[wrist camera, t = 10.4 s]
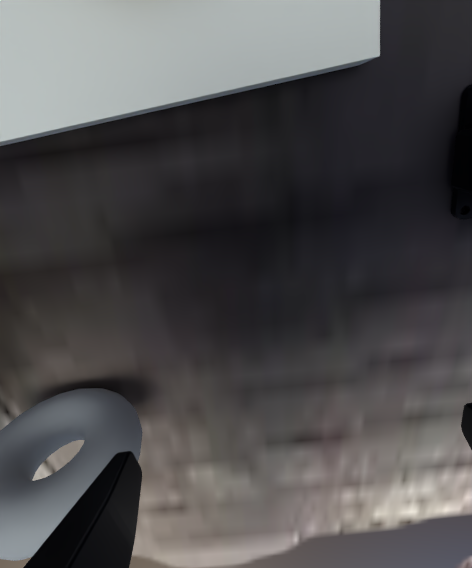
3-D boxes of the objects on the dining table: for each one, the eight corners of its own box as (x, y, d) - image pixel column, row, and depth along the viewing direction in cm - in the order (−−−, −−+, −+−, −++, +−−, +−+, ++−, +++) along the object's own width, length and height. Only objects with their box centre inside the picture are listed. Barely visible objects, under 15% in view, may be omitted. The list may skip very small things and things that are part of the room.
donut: (38, 420, 25) (-69, 583, 17) (17, 387, 24) (-113, 547, 15) (163, 403, 25) (122, 564, 16) (149, 368, 23) (96, 524, 14)
